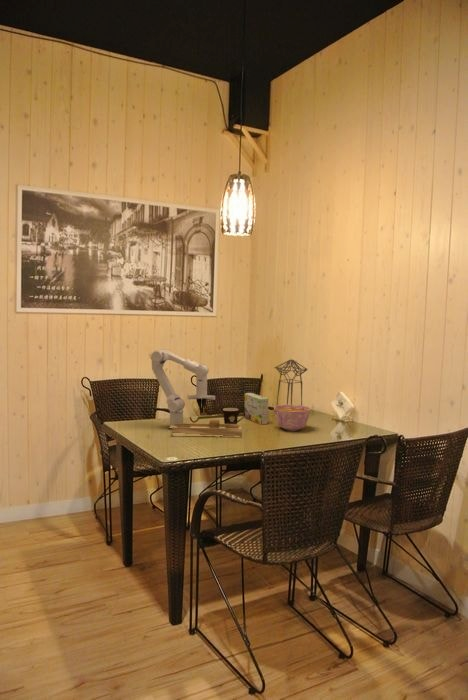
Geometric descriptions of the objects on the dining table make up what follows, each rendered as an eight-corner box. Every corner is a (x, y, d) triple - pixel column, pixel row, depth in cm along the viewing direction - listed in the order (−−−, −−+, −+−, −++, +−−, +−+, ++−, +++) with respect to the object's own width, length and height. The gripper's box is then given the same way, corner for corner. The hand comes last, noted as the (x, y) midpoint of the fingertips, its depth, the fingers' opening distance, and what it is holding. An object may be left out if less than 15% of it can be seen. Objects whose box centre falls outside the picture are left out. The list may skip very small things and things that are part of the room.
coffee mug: (221, 428, 303) (221, 410, 302) (225, 425, 311) (225, 407, 310) (241, 429, 300) (241, 411, 299) (245, 426, 308) (245, 408, 307)
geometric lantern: (288, 413, 348) (291, 357, 345) (307, 417, 336) (309, 360, 333) (270, 415, 338) (272, 358, 335) (288, 420, 326) (291, 361, 323)
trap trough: (174, 431, 294) (174, 423, 294) (241, 432, 294) (241, 424, 293) (171, 436, 283) (171, 427, 283) (241, 437, 283) (241, 428, 282)
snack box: (243, 417, 331) (244, 393, 330) (252, 417, 334) (252, 392, 333) (260, 425, 312) (260, 398, 311) (268, 424, 315) (269, 398, 313)
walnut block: (209, 427, 291) (209, 420, 290) (219, 427, 291) (219, 420, 290) (209, 429, 286) (209, 422, 285) (218, 430, 286) (219, 422, 285)
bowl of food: (267, 430, 299) (267, 409, 298) (281, 423, 316) (282, 403, 315) (302, 435, 289) (302, 413, 288) (315, 427, 307) (315, 407, 306)
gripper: (187, 388, 293) (187, 414, 294) (214, 388, 293) (214, 414, 294) (188, 386, 300) (188, 411, 301) (215, 386, 300) (215, 411, 301)
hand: (201, 412), depth 298 cm, fingers closed
